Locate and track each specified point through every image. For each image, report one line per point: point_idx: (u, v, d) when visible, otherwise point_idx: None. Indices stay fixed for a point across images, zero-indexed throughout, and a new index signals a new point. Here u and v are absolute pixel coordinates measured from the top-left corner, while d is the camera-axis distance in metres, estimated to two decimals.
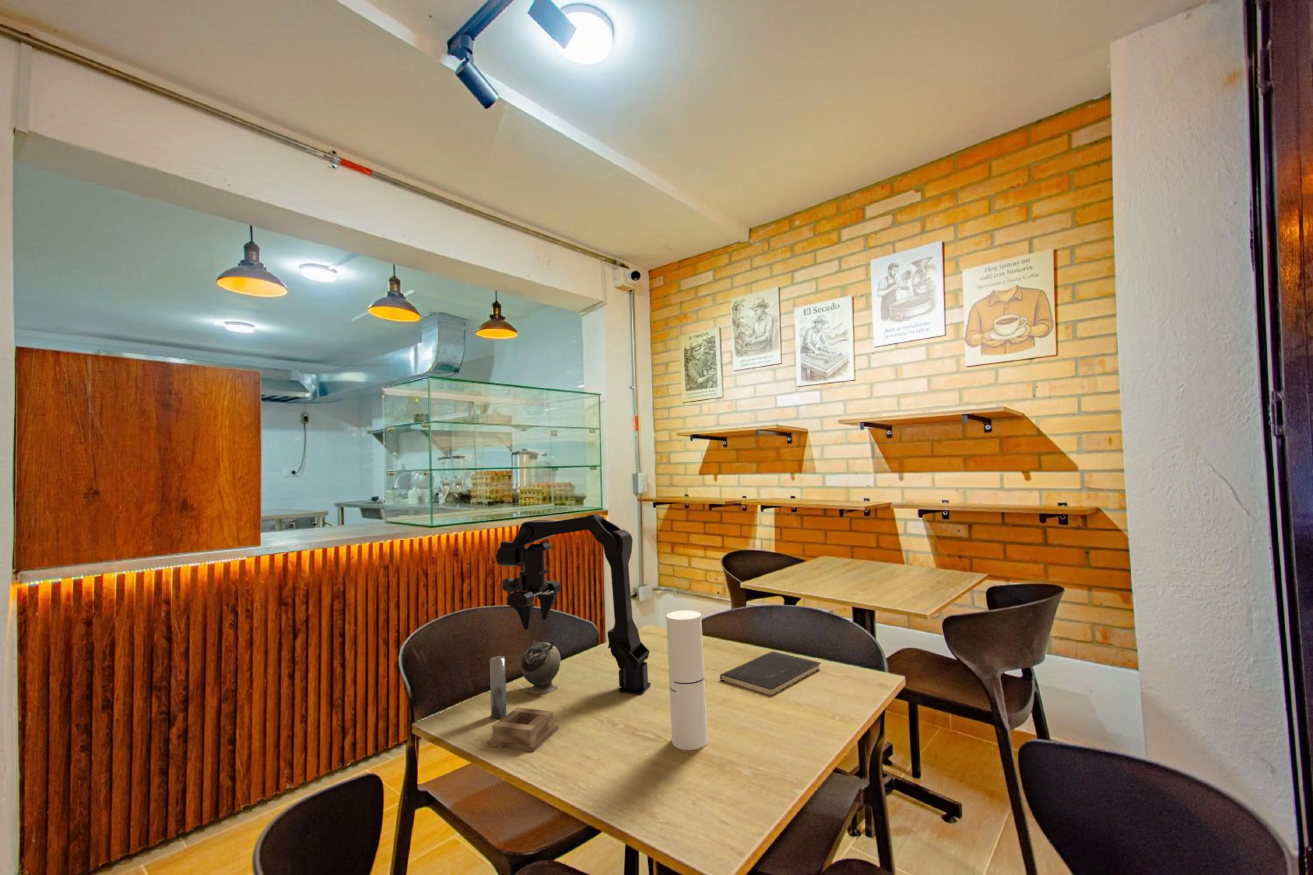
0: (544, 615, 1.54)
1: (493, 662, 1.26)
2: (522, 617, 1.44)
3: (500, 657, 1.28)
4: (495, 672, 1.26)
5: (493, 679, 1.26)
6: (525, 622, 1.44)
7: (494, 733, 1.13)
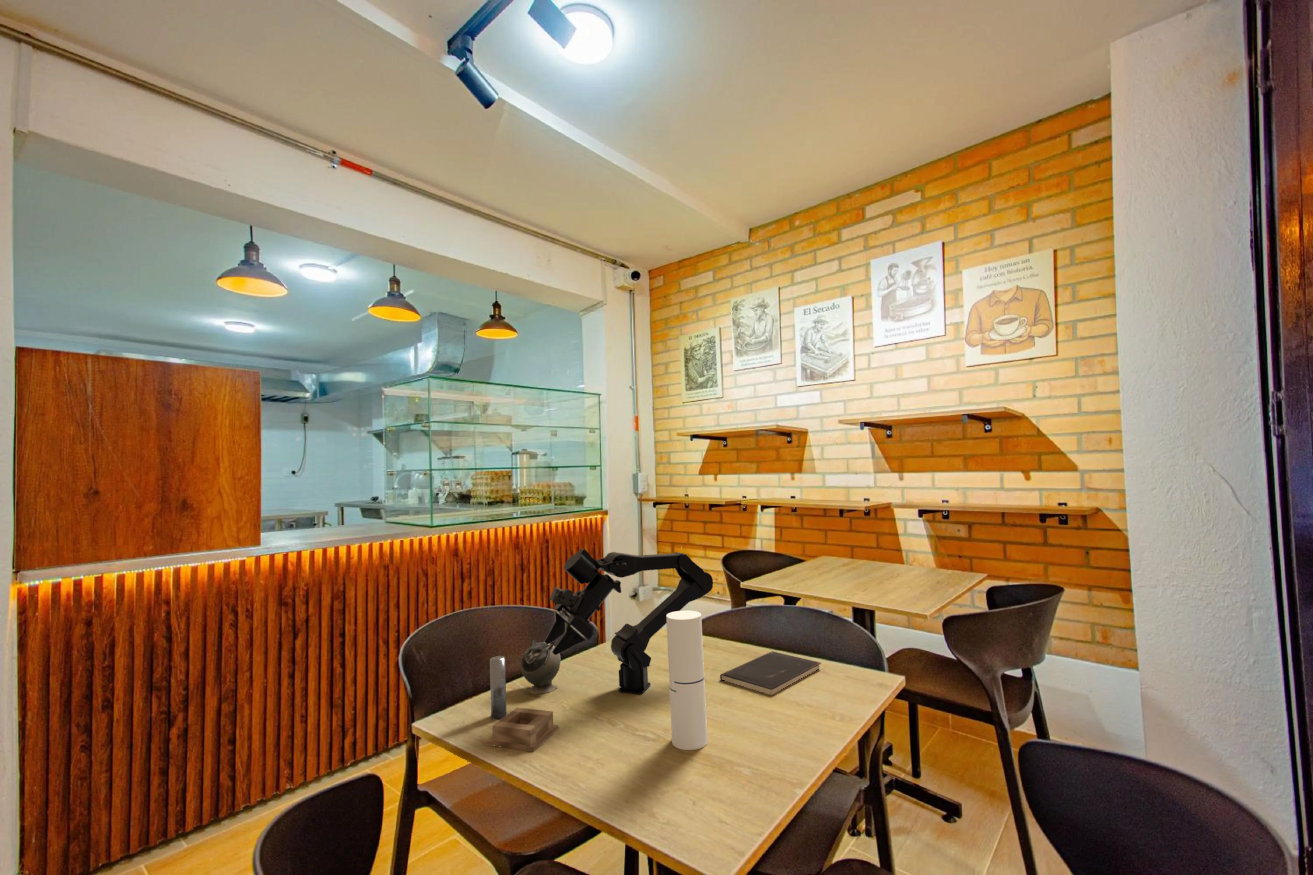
0: (550, 639, 1.36)
1: (493, 662, 1.26)
2: (562, 641, 1.27)
3: (500, 657, 1.28)
4: (495, 673, 1.26)
5: (493, 679, 1.26)
6: (561, 647, 1.27)
7: (494, 733, 1.13)
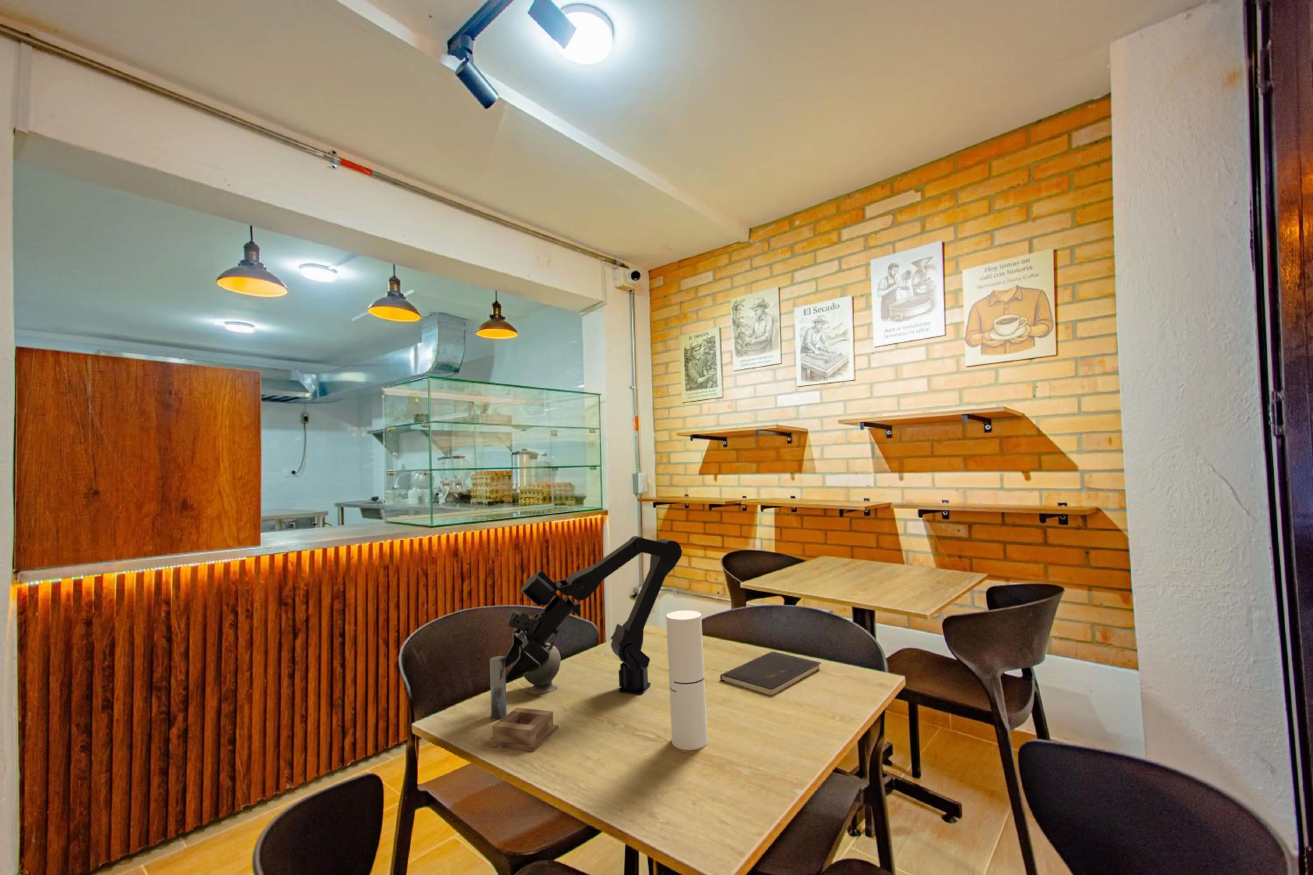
0: (507, 662, 1.33)
1: (493, 662, 1.26)
2: (516, 667, 1.24)
3: (500, 657, 1.28)
4: (495, 672, 1.26)
5: (493, 679, 1.26)
6: (515, 673, 1.24)
7: (494, 733, 1.13)
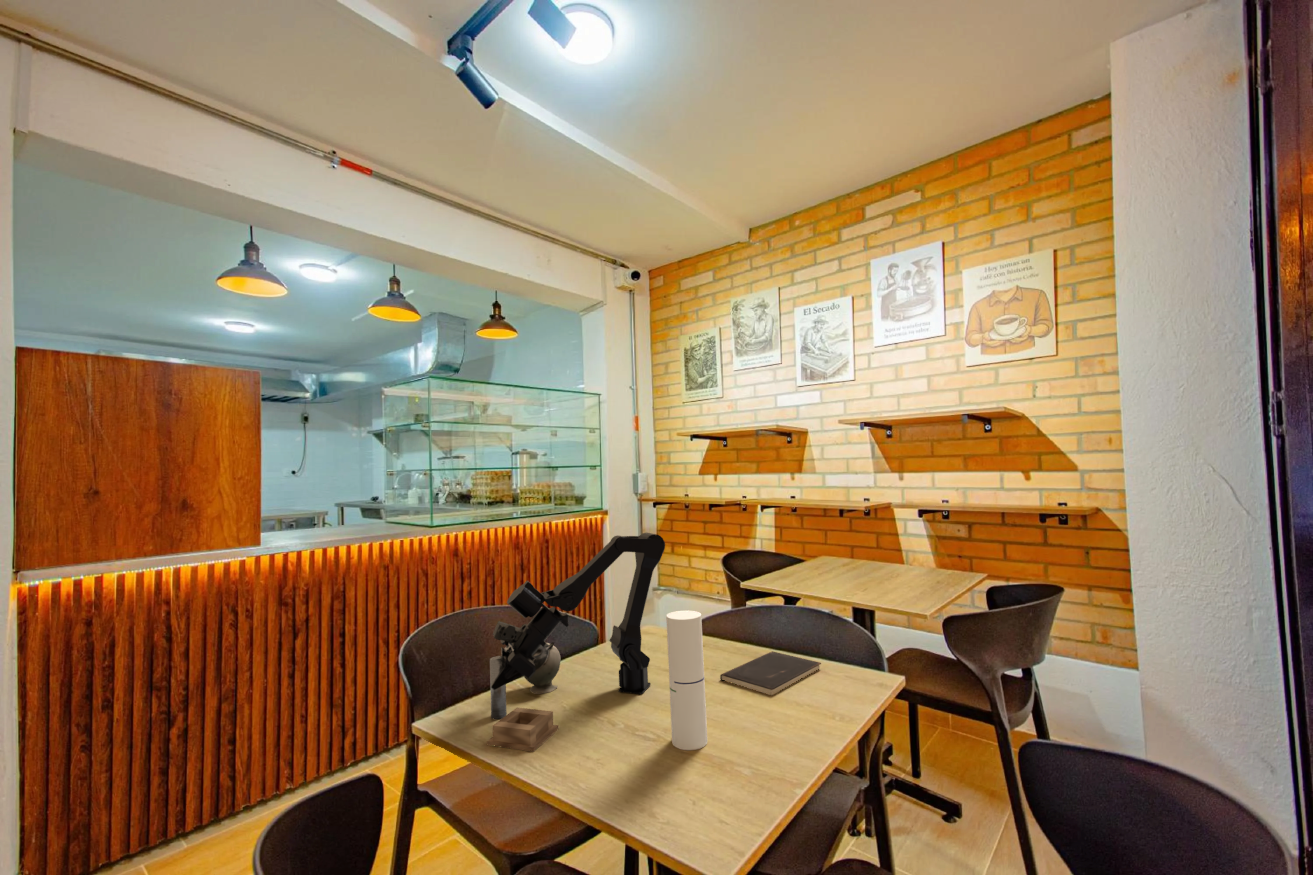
0: None
1: (493, 662, 1.26)
2: (501, 676, 1.25)
3: (500, 656, 1.28)
4: (495, 672, 1.26)
5: (493, 679, 1.26)
6: (500, 682, 1.25)
7: (494, 733, 1.13)
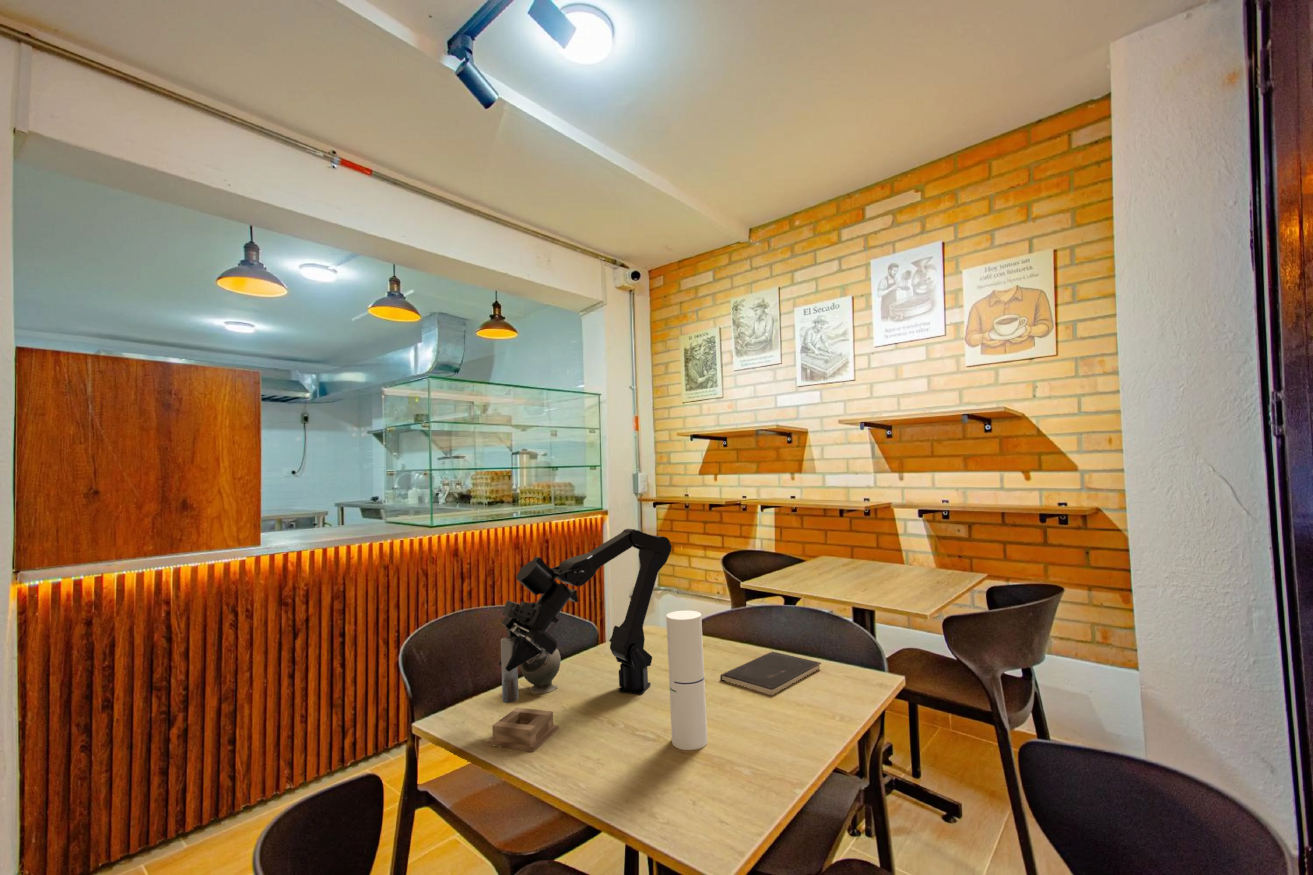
0: None
1: (506, 642, 1.19)
2: (517, 656, 1.19)
3: (510, 637, 1.22)
4: (508, 653, 1.19)
5: (507, 661, 1.19)
6: (515, 663, 1.19)
7: (494, 733, 1.13)
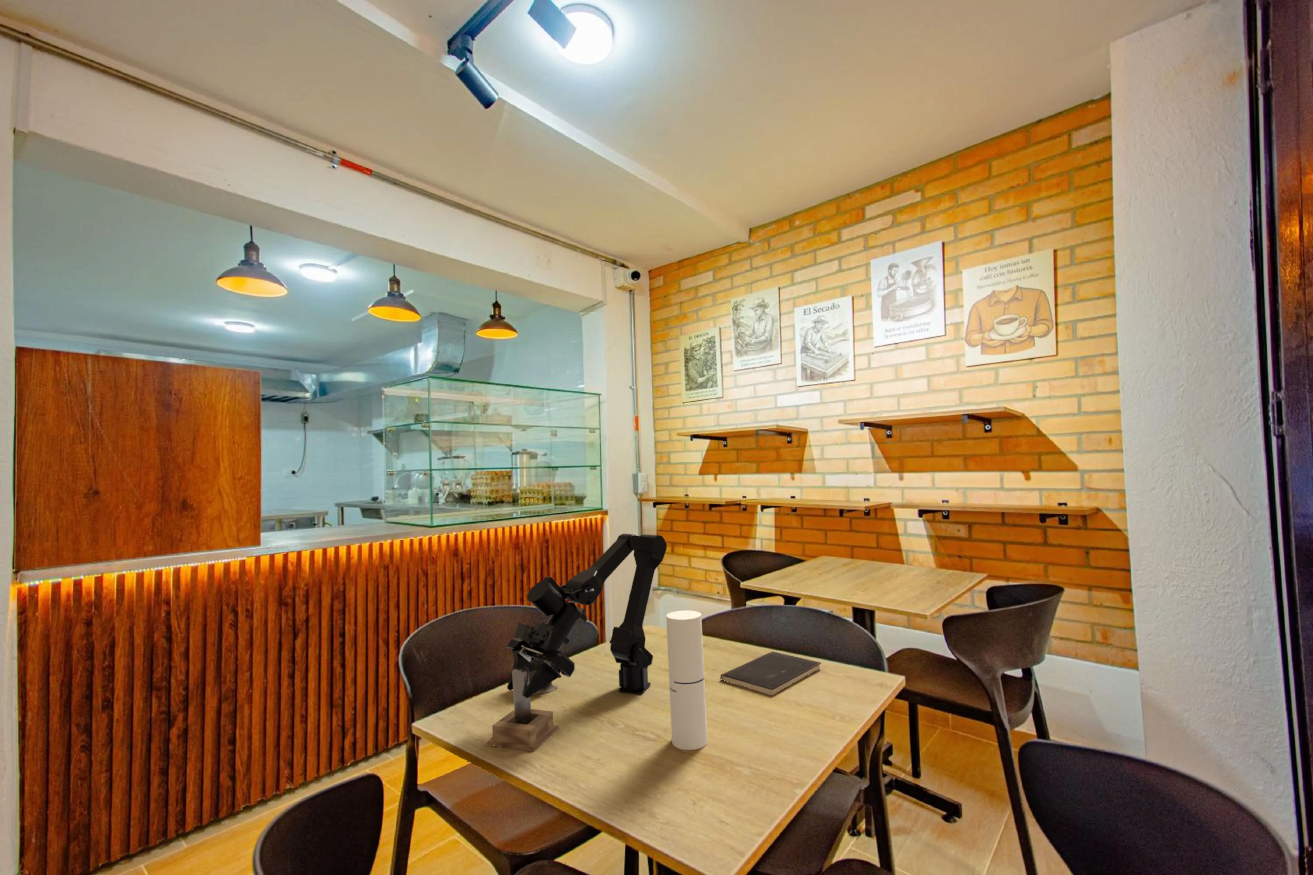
0: None
1: (519, 674, 1.15)
2: (536, 682, 1.14)
3: (521, 668, 1.18)
4: (522, 685, 1.15)
5: (520, 693, 1.15)
6: (534, 689, 1.14)
7: (494, 733, 1.13)
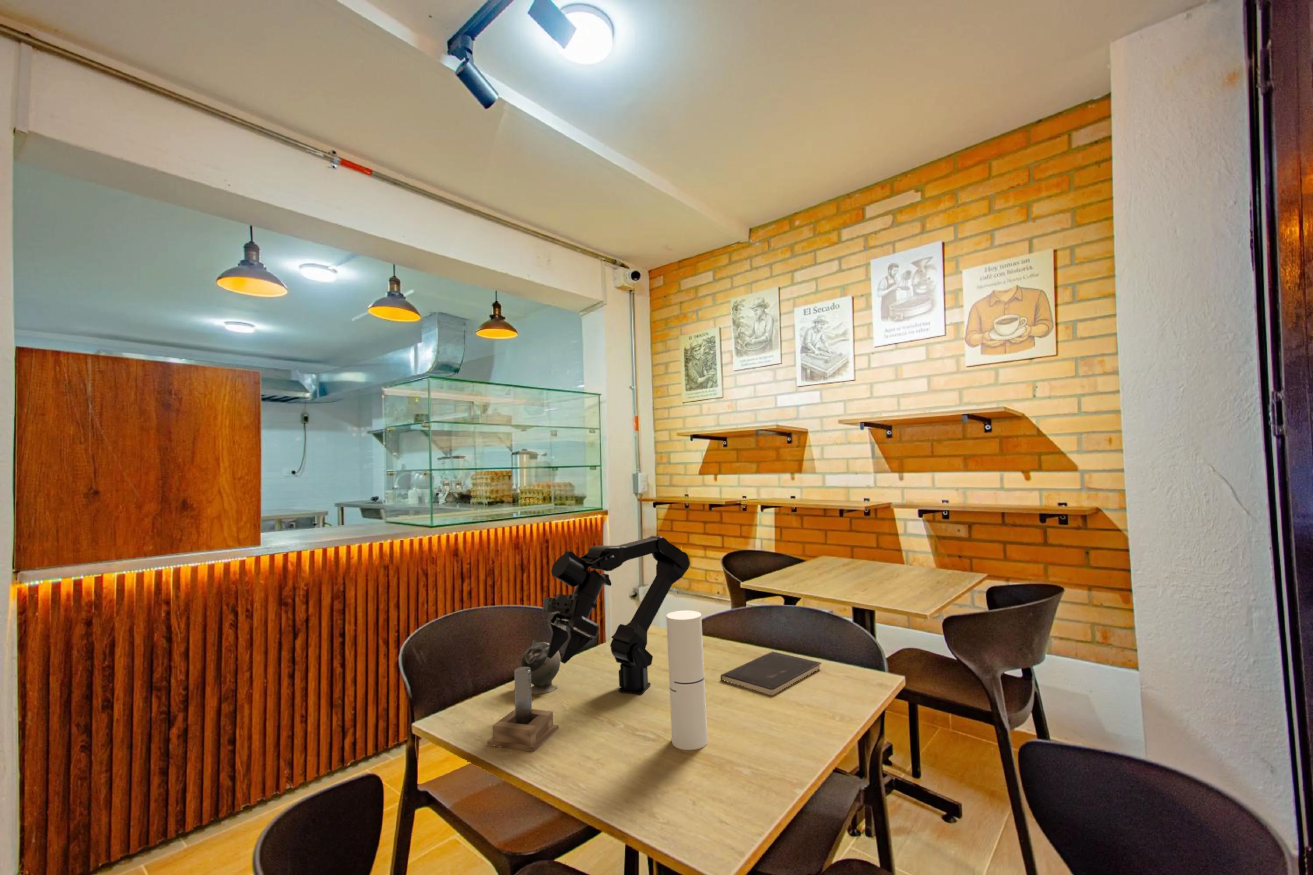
0: (552, 652, 1.29)
1: (521, 673, 1.15)
2: (569, 647, 1.21)
3: (524, 667, 1.18)
4: (523, 685, 1.15)
5: (522, 692, 1.15)
6: (569, 654, 1.21)
7: (494, 733, 1.13)
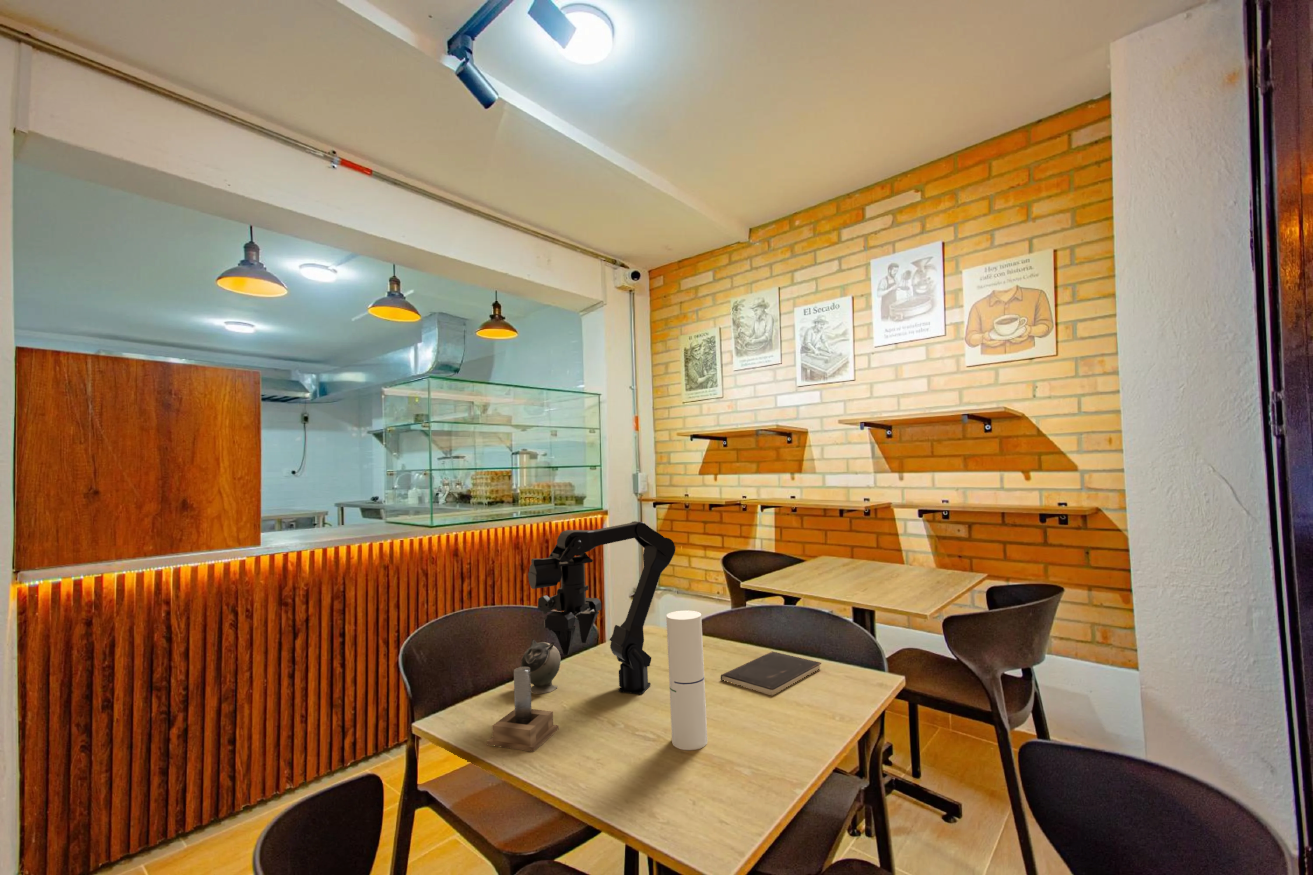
0: (584, 637, 1.36)
1: (521, 673, 1.15)
2: (561, 641, 1.27)
3: (523, 667, 1.18)
4: (523, 685, 1.15)
5: (521, 692, 1.15)
6: (565, 647, 1.27)
7: (494, 733, 1.13)
